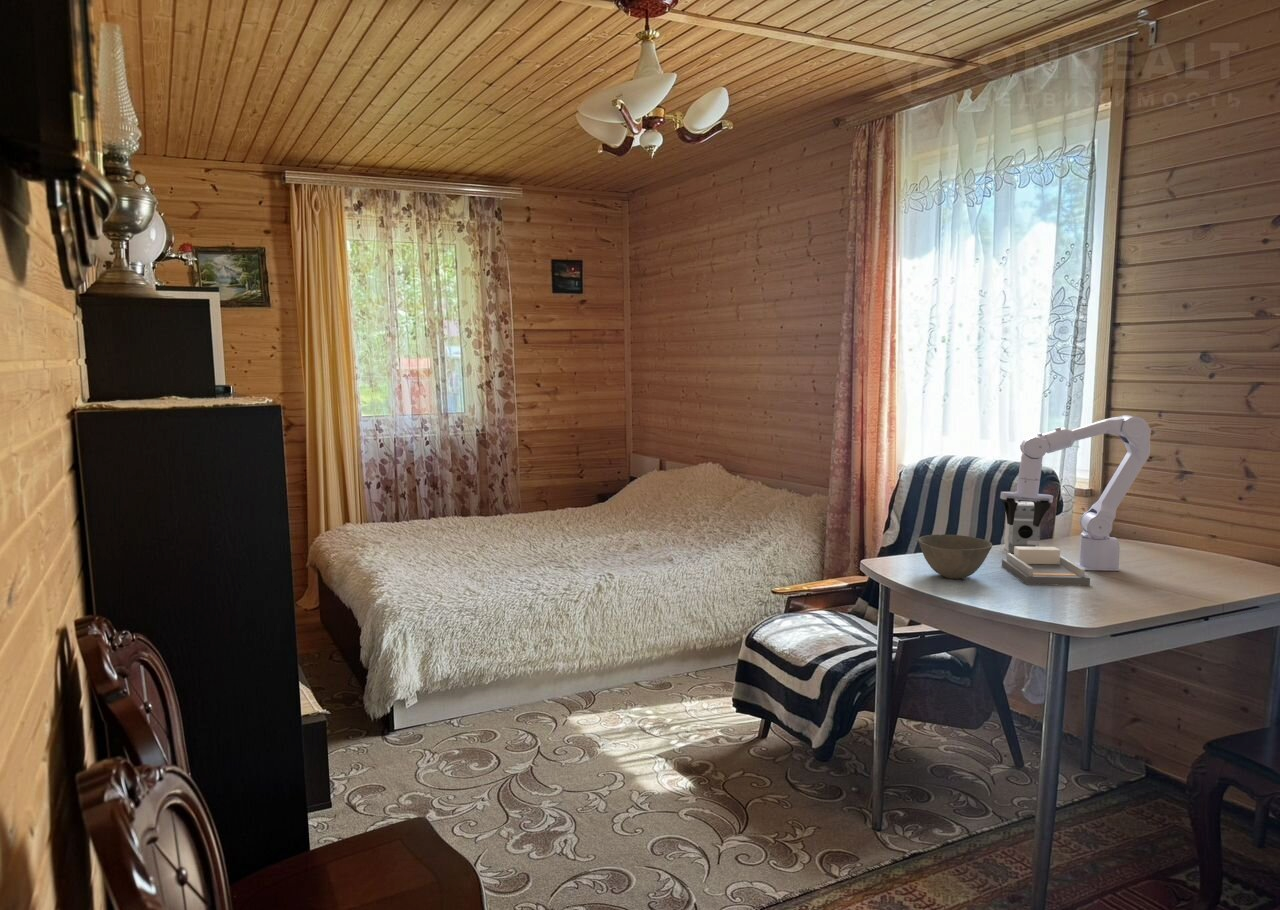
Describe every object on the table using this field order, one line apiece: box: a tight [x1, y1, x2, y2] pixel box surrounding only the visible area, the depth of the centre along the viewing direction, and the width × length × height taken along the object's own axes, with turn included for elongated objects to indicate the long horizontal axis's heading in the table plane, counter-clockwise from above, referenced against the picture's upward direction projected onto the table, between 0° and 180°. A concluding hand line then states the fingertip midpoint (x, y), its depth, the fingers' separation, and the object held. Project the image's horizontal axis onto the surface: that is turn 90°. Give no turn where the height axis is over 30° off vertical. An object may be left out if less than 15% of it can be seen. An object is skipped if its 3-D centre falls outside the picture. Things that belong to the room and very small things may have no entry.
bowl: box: [917, 533, 993, 580], centre depth 228 cm, size 19×19×10 cm
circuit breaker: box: [1003, 500, 1041, 553], centre depth 255 cm, size 8×14×15 cm, turn 166°
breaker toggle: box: [1013, 546, 1061, 564], centre depth 235 cm, size 11×4×4 cm, turn 84°
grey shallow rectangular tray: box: [1001, 552, 1091, 586], centre depth 229 cm, size 16×20×4 cm
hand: (1022, 525), depth 241 cm, fingers open, 7 cm apart
